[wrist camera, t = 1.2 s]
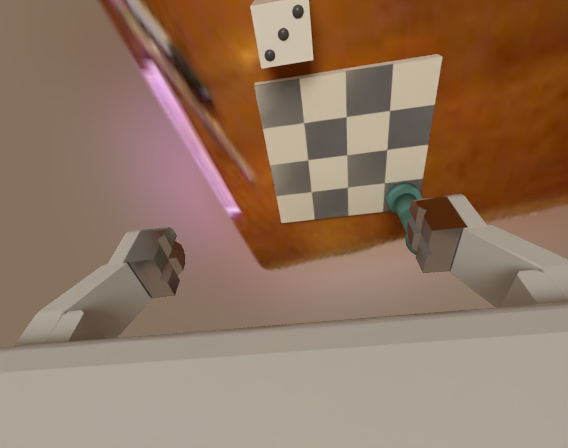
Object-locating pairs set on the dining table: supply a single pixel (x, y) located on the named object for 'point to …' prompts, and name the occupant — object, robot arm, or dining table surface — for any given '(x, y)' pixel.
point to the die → (282, 31)
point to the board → (347, 135)
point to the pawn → (403, 204)
